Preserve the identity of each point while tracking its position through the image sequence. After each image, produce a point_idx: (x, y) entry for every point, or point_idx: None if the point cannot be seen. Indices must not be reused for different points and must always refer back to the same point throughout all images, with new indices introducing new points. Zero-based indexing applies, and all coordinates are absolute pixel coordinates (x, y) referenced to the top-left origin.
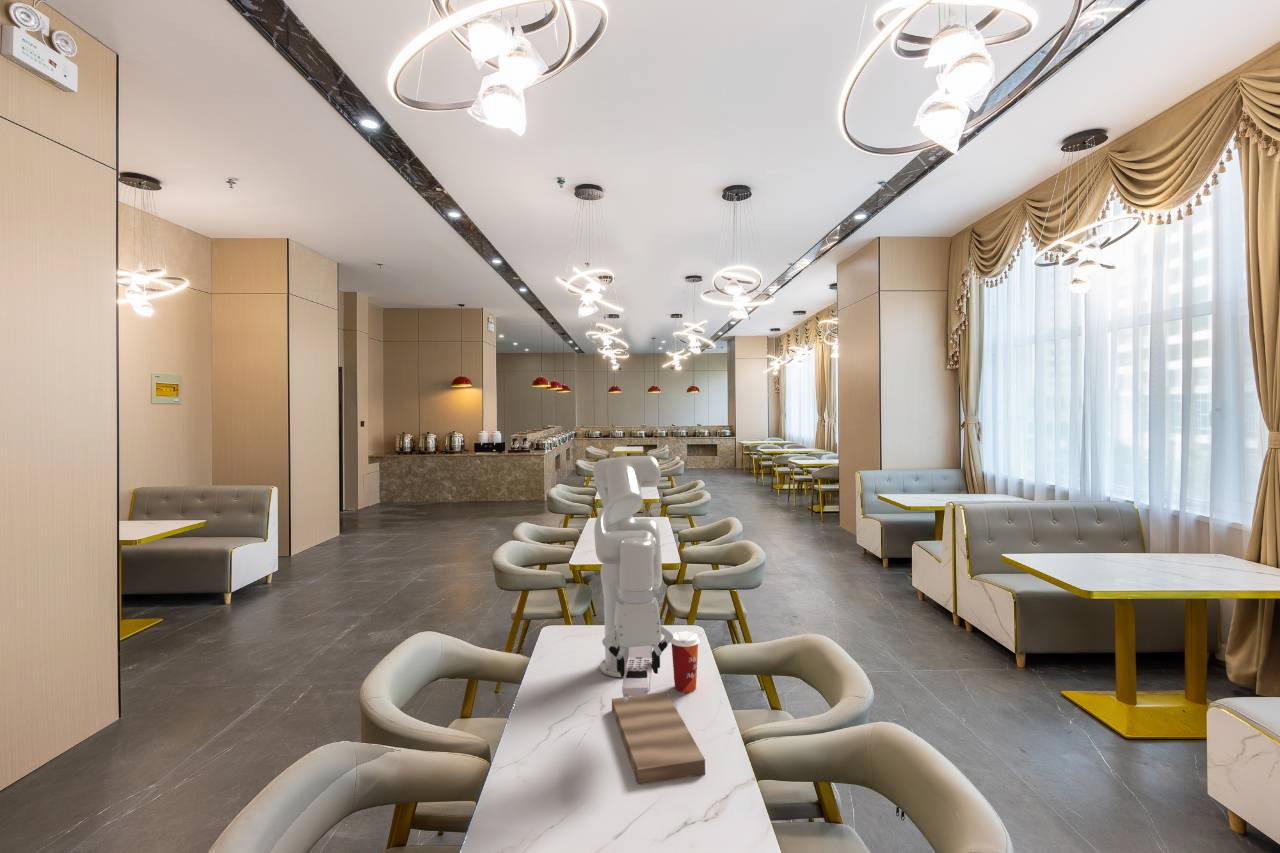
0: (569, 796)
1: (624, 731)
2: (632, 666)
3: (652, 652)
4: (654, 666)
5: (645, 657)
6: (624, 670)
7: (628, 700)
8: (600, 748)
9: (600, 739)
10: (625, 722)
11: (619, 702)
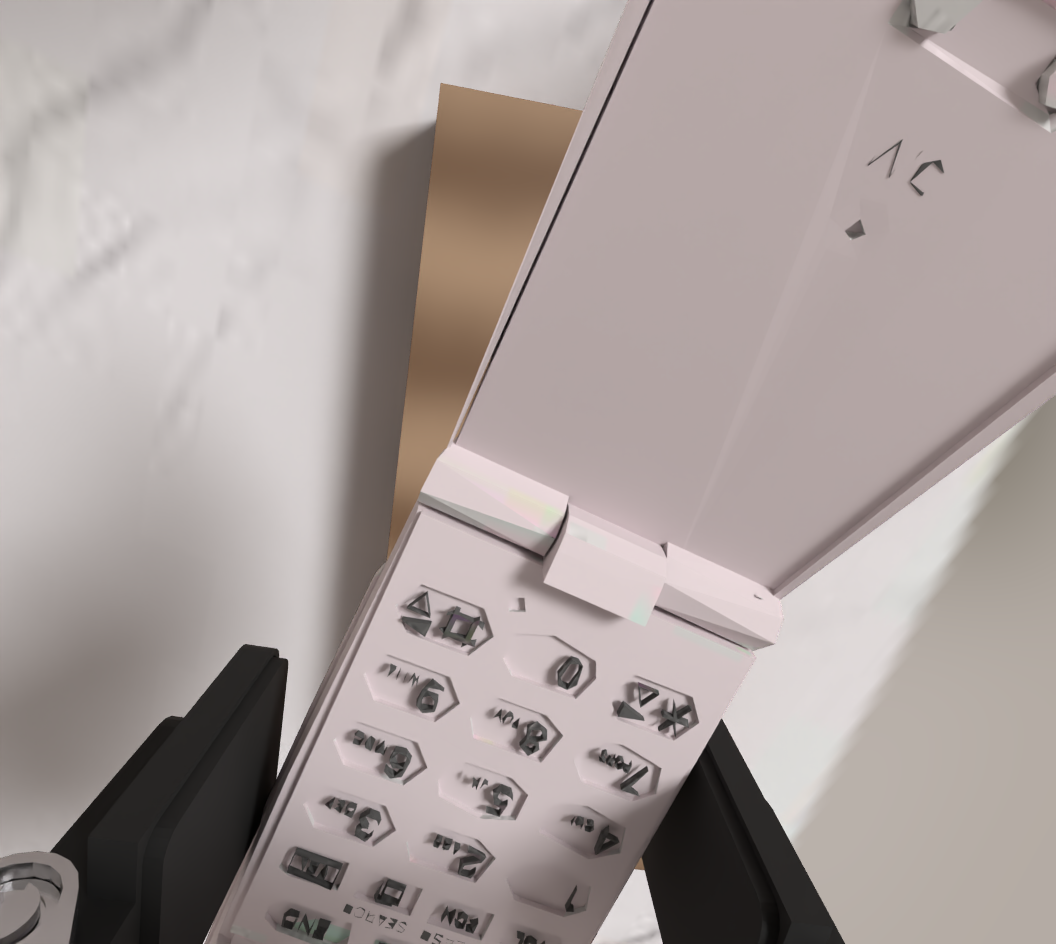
0: (80, 761)
1: (394, 532)
2: (376, 824)
3: (767, 941)
4: (660, 925)
5: (689, 602)
6: (239, 864)
7: (548, 168)
8: (278, 492)
9: (297, 412)
10: (430, 443)
11: (477, 169)
